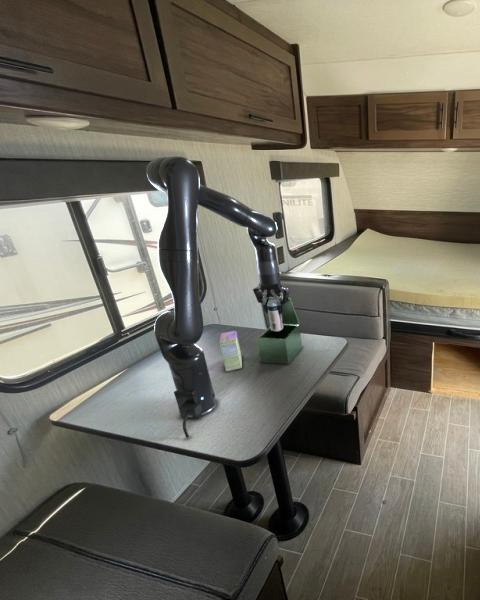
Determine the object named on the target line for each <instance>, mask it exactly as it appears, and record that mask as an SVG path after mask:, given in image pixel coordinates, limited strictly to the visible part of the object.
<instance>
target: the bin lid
mask: <svg viewBox="0 0 480 600" xmlns="http://www.w3.org/2000/svg"><path fill="white" fill-rule="evenodd" d="M280 293H281V295H282V299H283V294H282V292H280ZM277 297H278V296H277ZM271 300H275V299H274V297H270V298H269V301H271ZM283 305H284V312H283V313H282V321H283V324H291V325H300V320H299V317H298V314H297V312H296V309H295V306H294V303H293V301H292V298H291V297H288V302H286V303H285V304H283Z"/></svg>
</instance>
